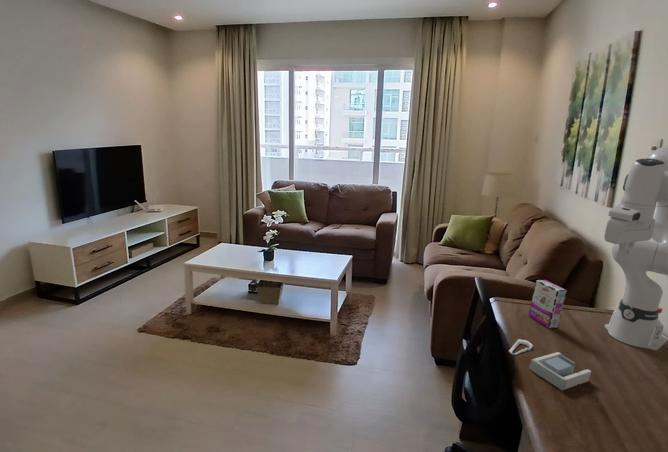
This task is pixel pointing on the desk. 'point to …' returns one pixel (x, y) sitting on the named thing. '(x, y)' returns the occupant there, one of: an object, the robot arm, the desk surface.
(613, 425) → the desk surface
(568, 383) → the bay
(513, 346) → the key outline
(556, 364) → the grey-blue box
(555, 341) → the desk surface
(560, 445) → the desk surface
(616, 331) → the robot arm
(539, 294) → the candy bar box
